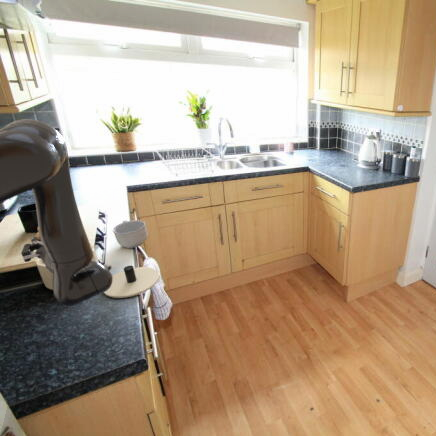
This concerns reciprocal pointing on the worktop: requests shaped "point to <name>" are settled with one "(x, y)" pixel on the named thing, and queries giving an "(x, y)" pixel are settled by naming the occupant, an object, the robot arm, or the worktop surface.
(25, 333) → the worktop surface
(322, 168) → the worktop surface
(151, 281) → the pot lid
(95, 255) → the pot
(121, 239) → the teacup
